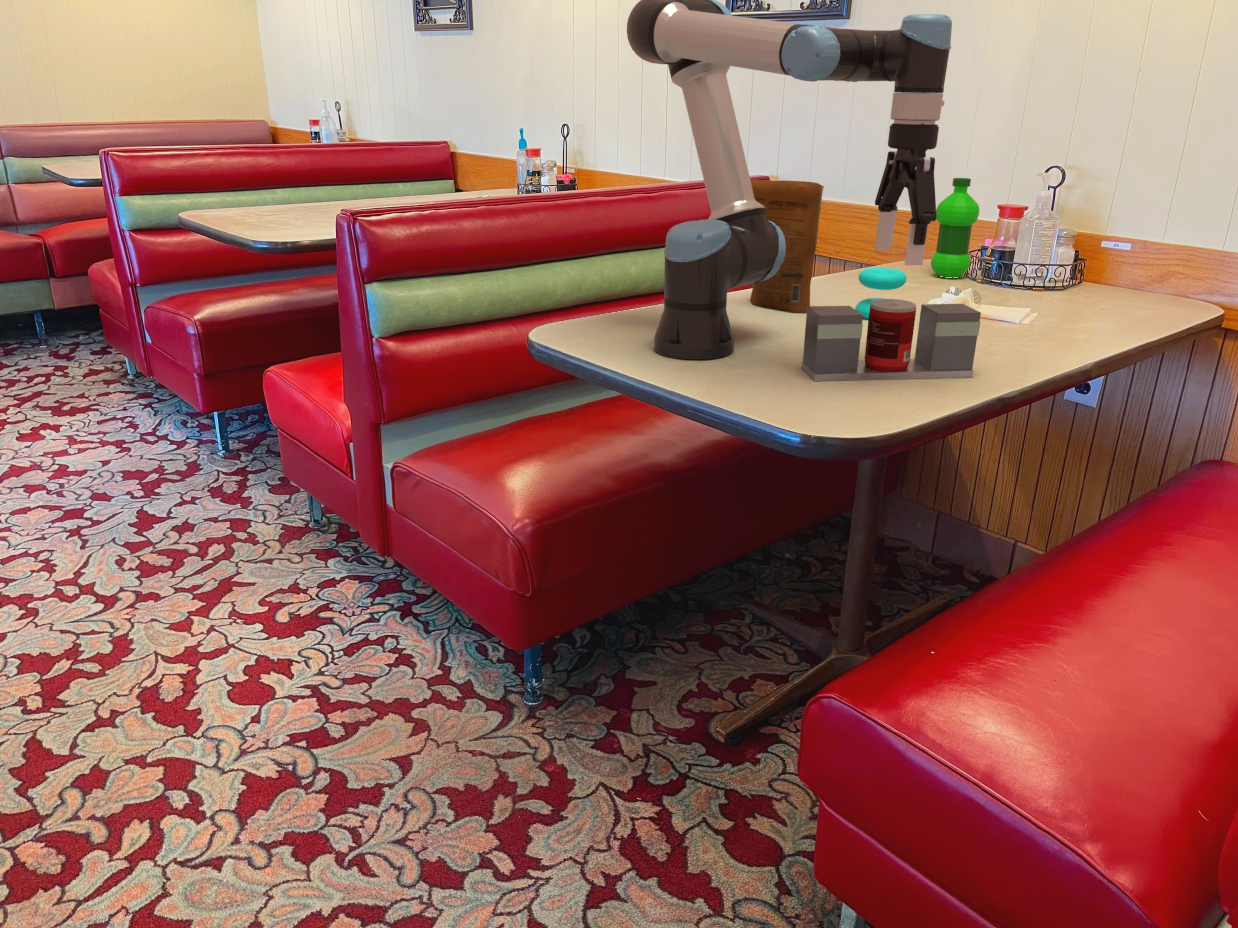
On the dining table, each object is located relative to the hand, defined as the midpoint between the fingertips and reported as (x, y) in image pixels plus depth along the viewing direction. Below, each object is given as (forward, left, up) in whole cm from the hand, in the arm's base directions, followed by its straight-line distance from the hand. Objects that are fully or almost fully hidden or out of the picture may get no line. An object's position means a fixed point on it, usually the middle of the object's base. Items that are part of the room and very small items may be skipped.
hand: (897, 257), depth 155 cm
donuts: (+14, +42, -20) cm, 49 cm away
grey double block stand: (0, 0, -20) cm, 20 cm away
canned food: (0, 0, -19) cm, 19 cm away
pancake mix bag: (-6, +52, -20) cm, 56 cm away
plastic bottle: (+49, +85, -20) cm, 100 cm away
